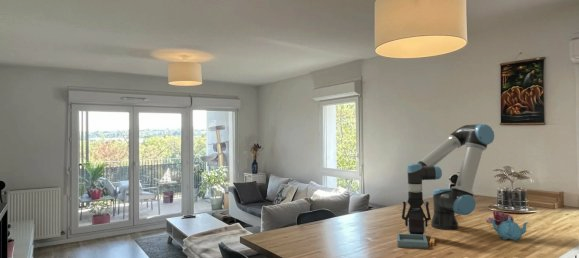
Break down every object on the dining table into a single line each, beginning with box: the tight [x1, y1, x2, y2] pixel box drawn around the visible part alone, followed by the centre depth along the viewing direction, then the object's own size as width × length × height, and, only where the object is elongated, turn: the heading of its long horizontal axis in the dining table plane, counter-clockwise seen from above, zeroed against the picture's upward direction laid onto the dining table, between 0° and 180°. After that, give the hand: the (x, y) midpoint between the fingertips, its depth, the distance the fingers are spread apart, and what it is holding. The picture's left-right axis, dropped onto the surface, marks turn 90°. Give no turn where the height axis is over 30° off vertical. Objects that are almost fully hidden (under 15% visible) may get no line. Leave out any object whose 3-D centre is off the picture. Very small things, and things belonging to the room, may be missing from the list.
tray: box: [396, 233, 429, 250], centre depth 183 cm, size 14×14×3 cm
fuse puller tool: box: [429, 236, 436, 246], centre depth 184 cm, size 10×2×2 cm, turn 154°
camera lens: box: [407, 208, 425, 235], centre depth 196 cm, size 8×8×15 cm
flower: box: [485, 210, 515, 227], centre depth 209 cm, size 15×15×10 cm
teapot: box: [490, 217, 530, 242], centre depth 187 cm, size 13×13×10 cm
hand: (416, 232), depth 196 cm, fingers closed on camera lens, 8 cm apart
